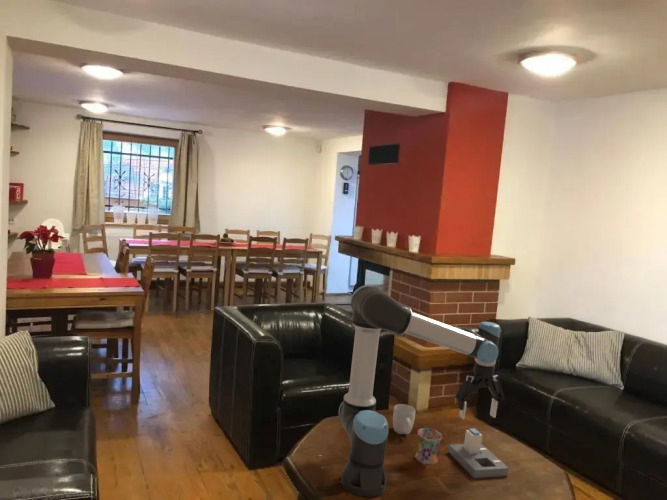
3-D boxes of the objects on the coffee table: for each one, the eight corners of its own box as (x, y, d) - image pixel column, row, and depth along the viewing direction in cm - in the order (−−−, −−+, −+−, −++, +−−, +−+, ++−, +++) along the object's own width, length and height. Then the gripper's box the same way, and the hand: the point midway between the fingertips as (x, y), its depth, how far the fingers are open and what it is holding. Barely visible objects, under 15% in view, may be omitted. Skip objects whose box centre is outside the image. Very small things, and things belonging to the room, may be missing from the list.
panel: (473, 480, 184) (475, 469, 183) (448, 454, 201) (449, 444, 200) (507, 478, 188) (508, 467, 187) (479, 452, 205) (480, 442, 204)
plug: (468, 460, 196) (472, 433, 194) (462, 454, 200) (466, 428, 199) (478, 459, 197) (482, 433, 196) (472, 454, 201) (476, 427, 200)
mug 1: (388, 425, 220) (391, 403, 219) (409, 426, 221) (412, 404, 220) (396, 440, 207) (399, 416, 206) (418, 441, 209) (421, 417, 208)
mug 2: (441, 468, 190) (445, 441, 188) (416, 466, 189) (420, 439, 188) (433, 451, 202) (437, 426, 200) (410, 449, 201) (413, 423, 200)
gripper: (461, 367, 187) (453, 422, 189) (519, 366, 194) (511, 420, 197) (450, 360, 194) (443, 413, 196) (506, 359, 201) (499, 411, 204)
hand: (477, 417), depth 197 cm, fingers open, 13 cm apart
